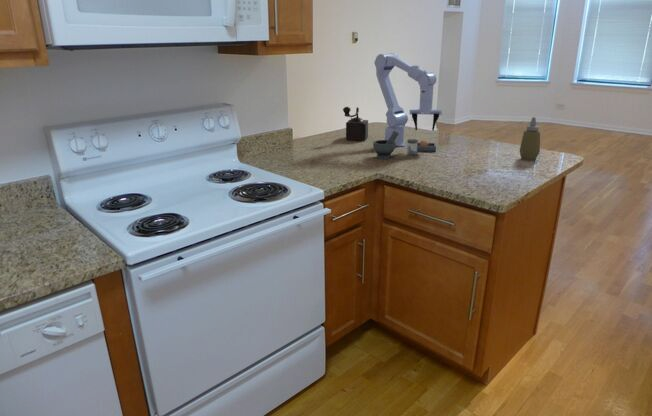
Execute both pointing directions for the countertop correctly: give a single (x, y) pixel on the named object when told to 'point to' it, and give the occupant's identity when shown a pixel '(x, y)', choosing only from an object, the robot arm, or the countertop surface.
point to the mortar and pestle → (385, 146)
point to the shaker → (412, 147)
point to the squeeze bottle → (530, 142)
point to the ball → (423, 143)
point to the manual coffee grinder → (355, 127)
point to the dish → (427, 147)
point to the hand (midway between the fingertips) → (424, 129)
